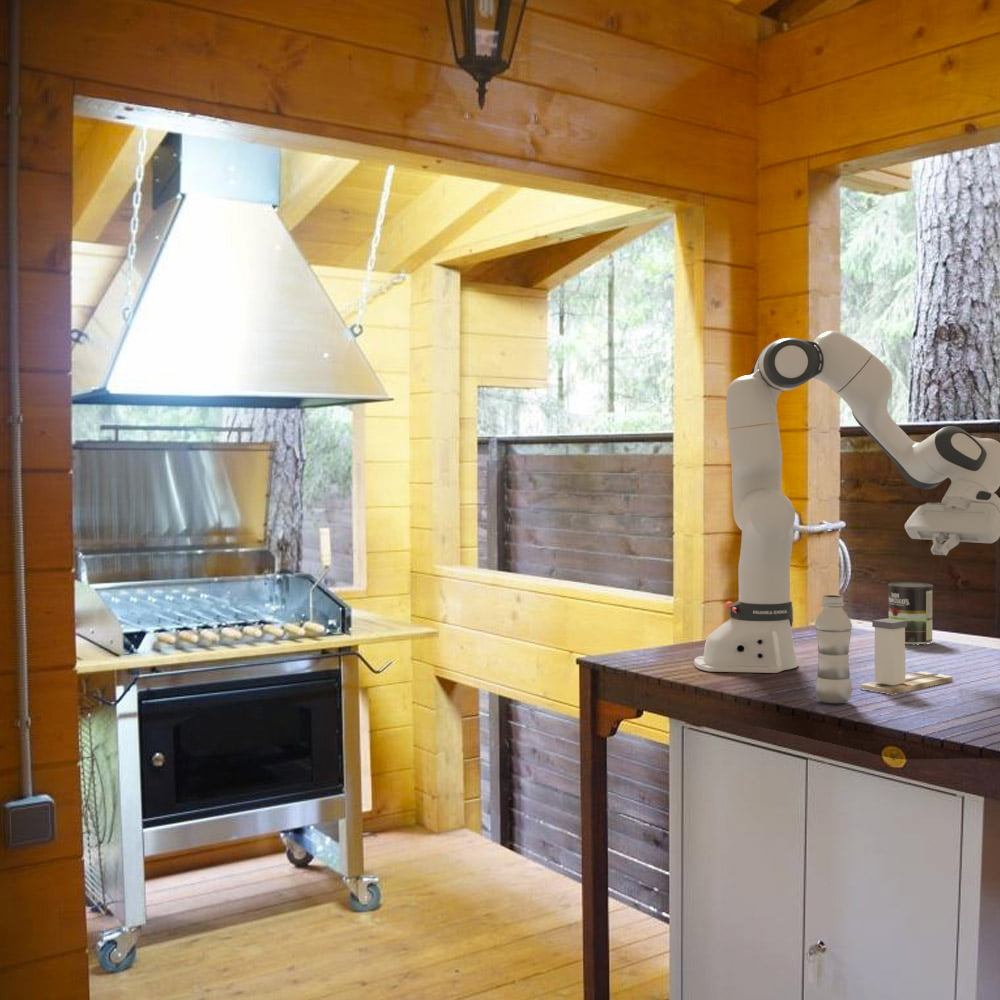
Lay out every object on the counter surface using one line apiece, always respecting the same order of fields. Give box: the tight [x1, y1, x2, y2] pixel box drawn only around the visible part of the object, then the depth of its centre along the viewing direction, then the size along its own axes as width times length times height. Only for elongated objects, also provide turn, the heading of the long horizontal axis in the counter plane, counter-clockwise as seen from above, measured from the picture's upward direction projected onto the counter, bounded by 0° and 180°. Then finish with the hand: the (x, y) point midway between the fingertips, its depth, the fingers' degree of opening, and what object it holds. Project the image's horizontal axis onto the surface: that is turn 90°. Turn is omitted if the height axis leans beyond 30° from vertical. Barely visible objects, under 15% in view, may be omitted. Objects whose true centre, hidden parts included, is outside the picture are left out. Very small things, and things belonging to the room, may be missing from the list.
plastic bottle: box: [814, 594, 853, 704], centre depth 207 cm, size 6×7×20 cm
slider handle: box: [871, 617, 907, 685], centre depth 218 cm, size 5×5×12 cm
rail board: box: [860, 671, 954, 695], centre depth 222 cm, size 20×7×1 cm, turn 125°
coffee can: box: [887, 581, 934, 645], centre depth 272 cm, size 10×10×14 cm
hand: (938, 553), depth 231 cm, fingers closed
